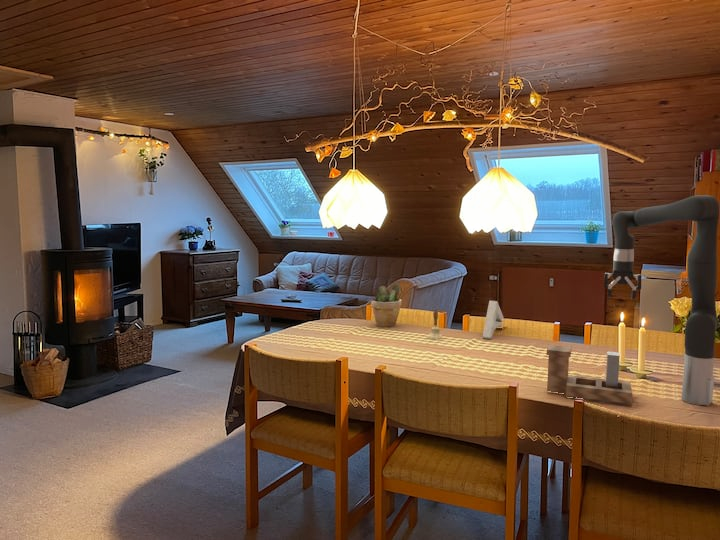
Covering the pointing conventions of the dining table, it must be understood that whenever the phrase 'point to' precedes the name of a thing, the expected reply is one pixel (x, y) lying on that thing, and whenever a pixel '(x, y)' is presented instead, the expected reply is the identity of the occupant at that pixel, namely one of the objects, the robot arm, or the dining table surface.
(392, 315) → the potted plant
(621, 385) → the desk organizer
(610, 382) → the gray rectangular block
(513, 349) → the dining table surface
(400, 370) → the dining table surface
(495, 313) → the white letter a
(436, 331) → the hand bell
